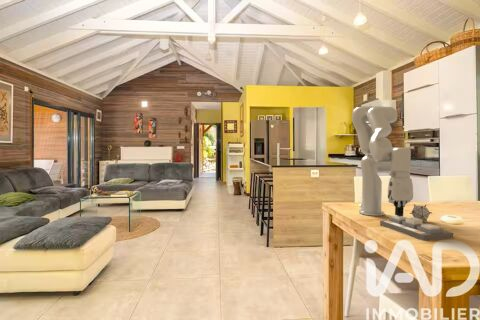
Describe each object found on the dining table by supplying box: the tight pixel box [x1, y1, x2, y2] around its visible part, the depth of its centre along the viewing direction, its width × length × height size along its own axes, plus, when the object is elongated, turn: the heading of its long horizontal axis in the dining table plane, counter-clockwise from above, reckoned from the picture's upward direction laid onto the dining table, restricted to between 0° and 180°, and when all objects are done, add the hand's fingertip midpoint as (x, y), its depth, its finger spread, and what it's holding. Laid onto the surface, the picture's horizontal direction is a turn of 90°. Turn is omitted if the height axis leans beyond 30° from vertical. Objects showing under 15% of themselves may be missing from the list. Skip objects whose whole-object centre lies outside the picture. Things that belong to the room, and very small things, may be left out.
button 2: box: [421, 223, 440, 230], centre depth 117 cm, size 4×4×2 cm
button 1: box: [391, 215, 408, 220], centre depth 133 cm, size 4×4×2 cm
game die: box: [409, 203, 433, 223], centre depth 142 cm, size 9×8×10 cm
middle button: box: [406, 216, 424, 225], centre depth 125 cm, size 4×4×2 cm
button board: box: [379, 216, 454, 241], centre depth 125 cm, size 24×14×4 cm, turn 13°
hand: (399, 215), depth 133 cm, fingers closed
